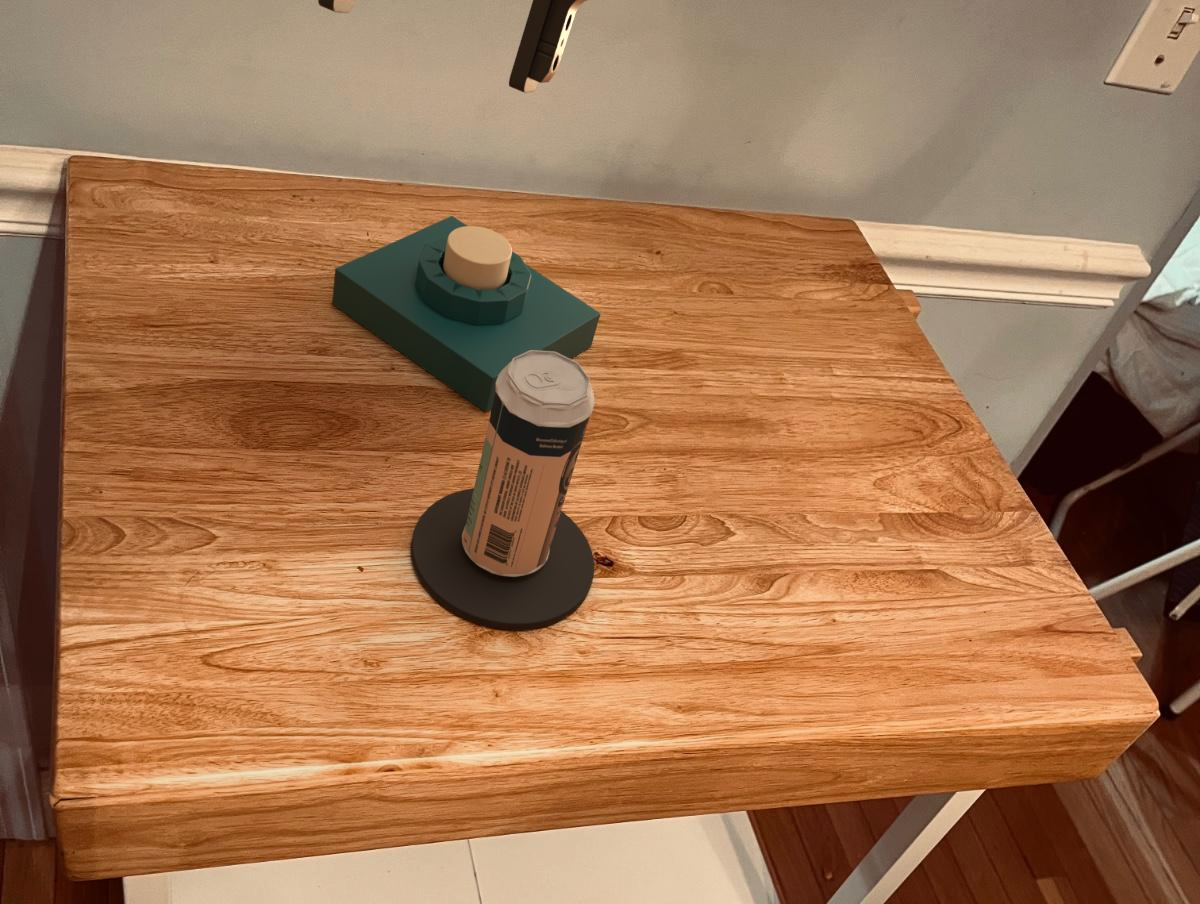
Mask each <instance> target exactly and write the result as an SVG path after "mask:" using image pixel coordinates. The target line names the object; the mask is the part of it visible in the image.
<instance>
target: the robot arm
mask: <svg viewBox="0 0 1200 904" xmlns="http://www.w3.org/2000/svg"><path fill="white" fill-rule="evenodd" d="M587 1H588V0H532V2H531V5H530V8H529V12H528V16H527V19H526V23H525V26H524V29H523V32H522V35H521V39H520V42H519V46H518V49H517V53H516V55H515V59H514V62H513V65H512V68H511V72H510V75H509V80H508V86H509V88H512V89H515V90H517V91H519V92H521V93H524V94H529V93H534V92H535V91H536V89H537V86H538V85H539V84H543V83H550V81H551V80H552V79H553V78H554V76H555V75H556V74H557V73H558V71H559V70H558V69H559V66H560V63H561V60H562V57H563V54H564V50H565V47H566V45H567V42H568V38H569V36H570V32H571V29H572V26H573V23H574V20H575V17H576V16H575V15H576V13H577V11H578V9H579V7H580V6H582V4H584V3H585V2H587ZM355 2H356V0H317V3H318V5H319V6H320V7H322V8H324V9H327V10H329V11H331V12H334V13H337V14H350V13H351V11H352V10H353V8H354V6H355Z"/></svg>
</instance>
